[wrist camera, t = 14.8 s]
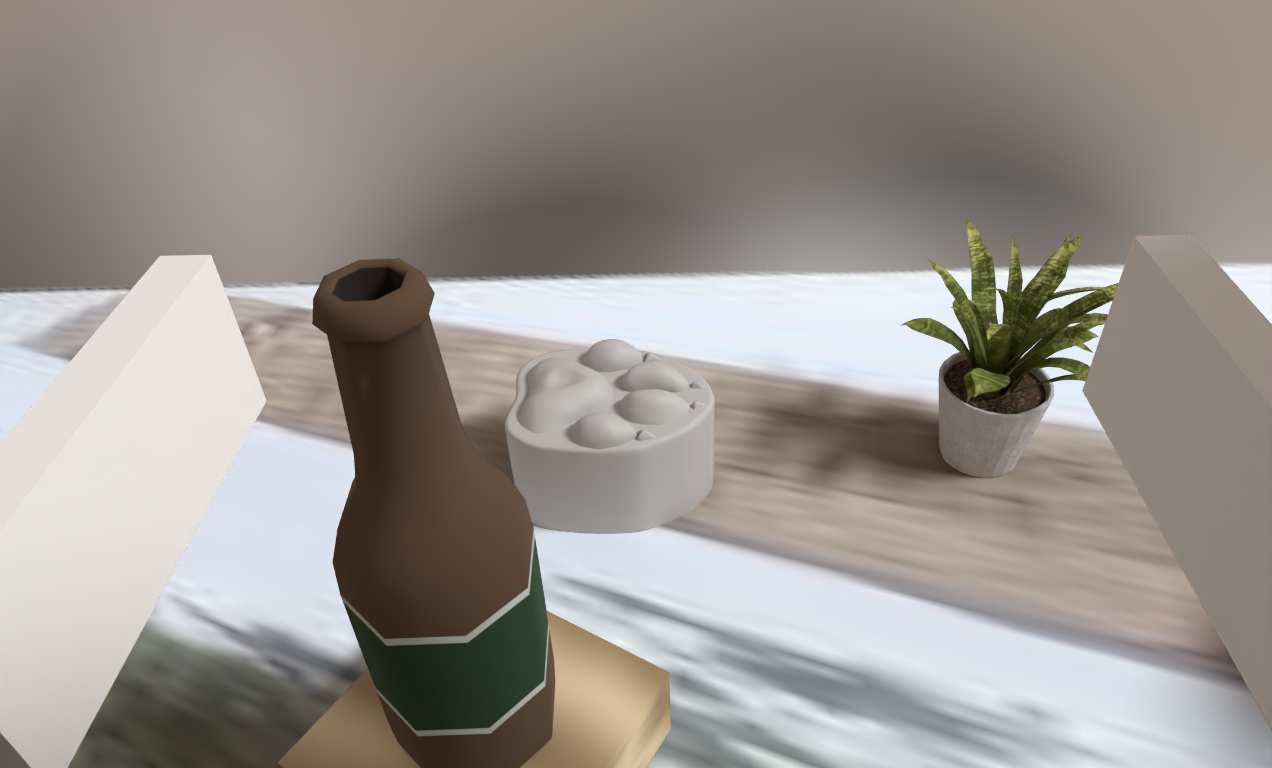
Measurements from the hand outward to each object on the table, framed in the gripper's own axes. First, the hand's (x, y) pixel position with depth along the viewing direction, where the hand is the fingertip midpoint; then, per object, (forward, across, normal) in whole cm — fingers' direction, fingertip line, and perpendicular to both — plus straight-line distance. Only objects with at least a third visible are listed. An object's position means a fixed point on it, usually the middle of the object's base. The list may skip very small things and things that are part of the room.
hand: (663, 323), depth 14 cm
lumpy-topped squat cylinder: (+34, -4, -36) cm, 50 cm away
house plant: (+34, +21, -36) cm, 54 cm away
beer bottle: (+12, -9, -31) cm, 35 cm away
